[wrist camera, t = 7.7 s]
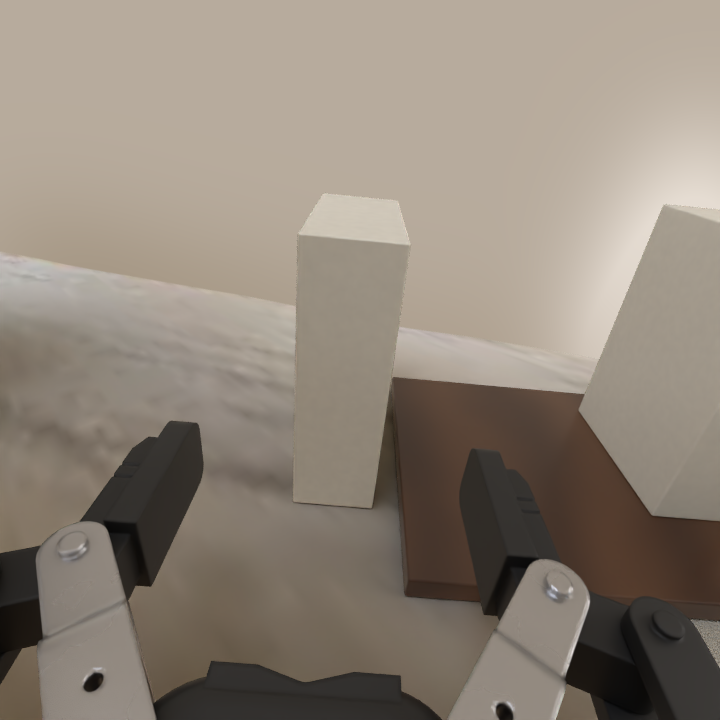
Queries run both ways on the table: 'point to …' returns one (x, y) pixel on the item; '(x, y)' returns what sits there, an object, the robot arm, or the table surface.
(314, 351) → the upright ivory block
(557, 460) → the dark wood bookend
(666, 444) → the cream rectangular block
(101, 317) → the table surface
